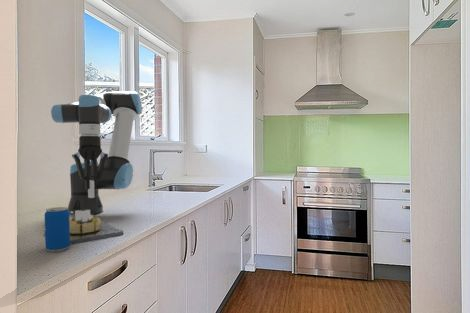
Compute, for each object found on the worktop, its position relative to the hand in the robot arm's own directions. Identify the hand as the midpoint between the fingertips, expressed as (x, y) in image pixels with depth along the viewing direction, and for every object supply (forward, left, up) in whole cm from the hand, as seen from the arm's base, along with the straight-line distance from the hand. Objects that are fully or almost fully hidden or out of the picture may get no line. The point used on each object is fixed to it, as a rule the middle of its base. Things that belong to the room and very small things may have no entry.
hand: (91, 197), depth 134 cm
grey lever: (+7, -7, -9) cm, 13 cm away
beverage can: (+25, -18, -11) cm, 33 cm away
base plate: (+12, -7, -11) cm, 18 cm away
